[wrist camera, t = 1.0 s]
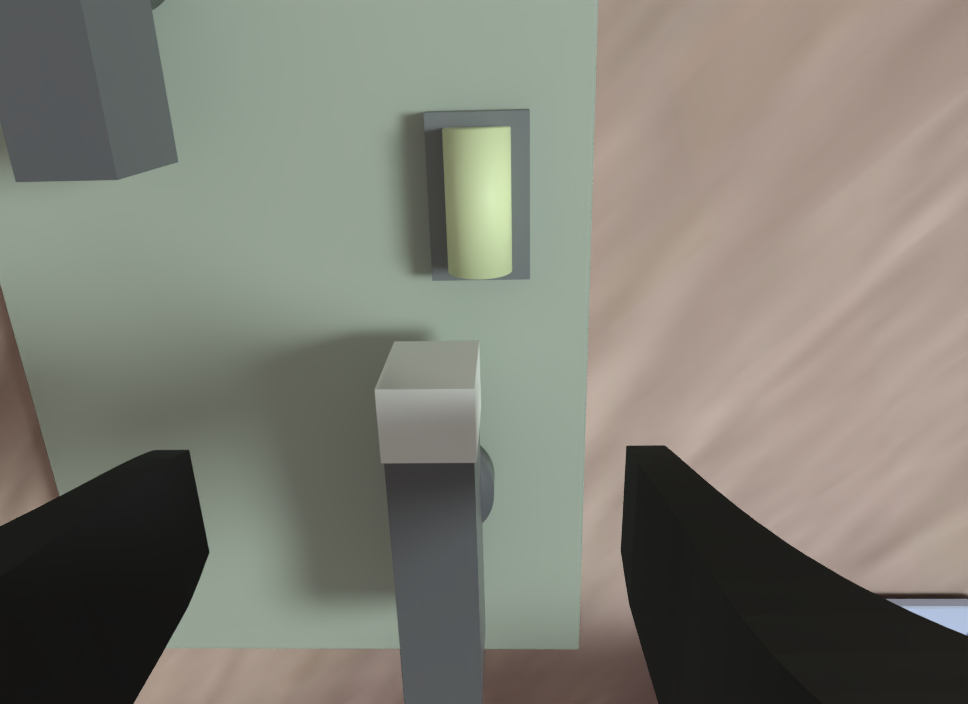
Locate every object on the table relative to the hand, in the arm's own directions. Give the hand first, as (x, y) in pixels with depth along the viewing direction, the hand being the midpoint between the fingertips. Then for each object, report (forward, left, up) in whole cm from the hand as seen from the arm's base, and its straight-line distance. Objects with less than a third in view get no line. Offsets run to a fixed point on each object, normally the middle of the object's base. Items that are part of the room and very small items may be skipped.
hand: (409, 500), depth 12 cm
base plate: (+3, +3, -7) cm, 9 cm away
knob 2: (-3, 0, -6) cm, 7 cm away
